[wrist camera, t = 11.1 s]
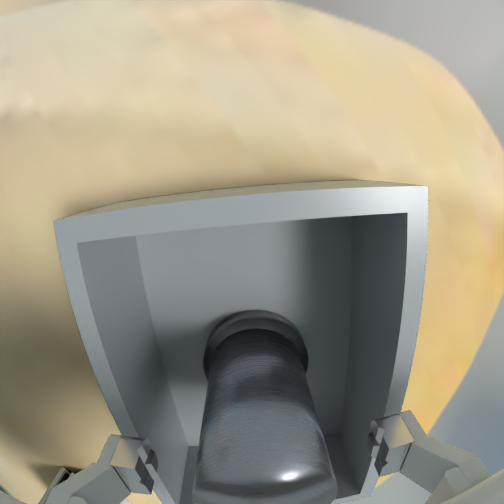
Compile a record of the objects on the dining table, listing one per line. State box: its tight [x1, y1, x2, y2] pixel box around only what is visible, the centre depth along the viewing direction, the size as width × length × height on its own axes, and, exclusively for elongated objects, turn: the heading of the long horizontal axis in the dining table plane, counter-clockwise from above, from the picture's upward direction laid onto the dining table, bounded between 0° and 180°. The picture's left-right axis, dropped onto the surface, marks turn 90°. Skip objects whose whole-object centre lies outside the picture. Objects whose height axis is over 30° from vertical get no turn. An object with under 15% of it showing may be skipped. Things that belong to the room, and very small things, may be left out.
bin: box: [53, 180, 428, 504], centre depth 13 cm, size 17×12×6 cm
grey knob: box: [192, 309, 338, 504], centre depth 11 cm, size 5×5×9 cm
